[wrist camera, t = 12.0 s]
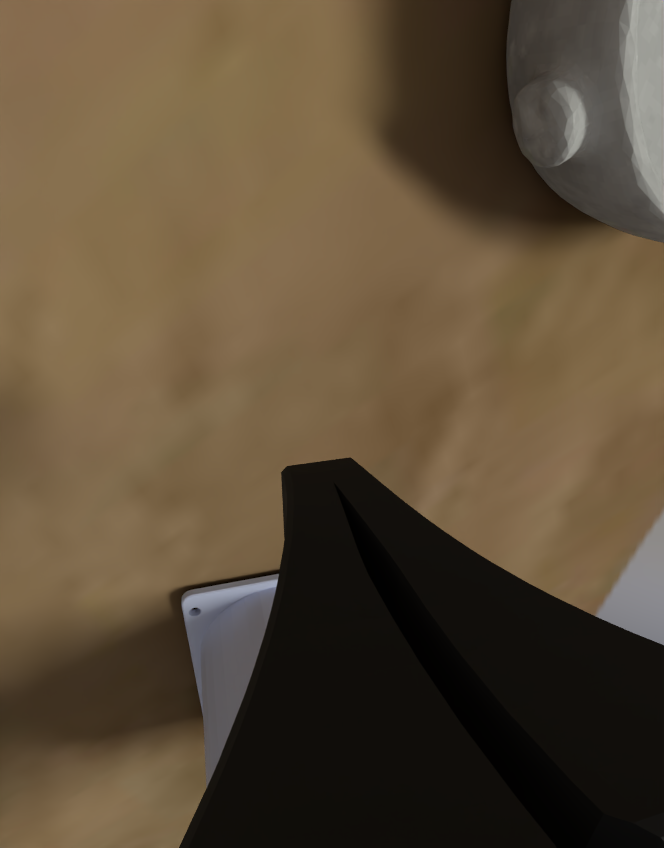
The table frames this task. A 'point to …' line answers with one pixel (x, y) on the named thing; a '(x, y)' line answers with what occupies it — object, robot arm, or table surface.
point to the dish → (593, 104)
